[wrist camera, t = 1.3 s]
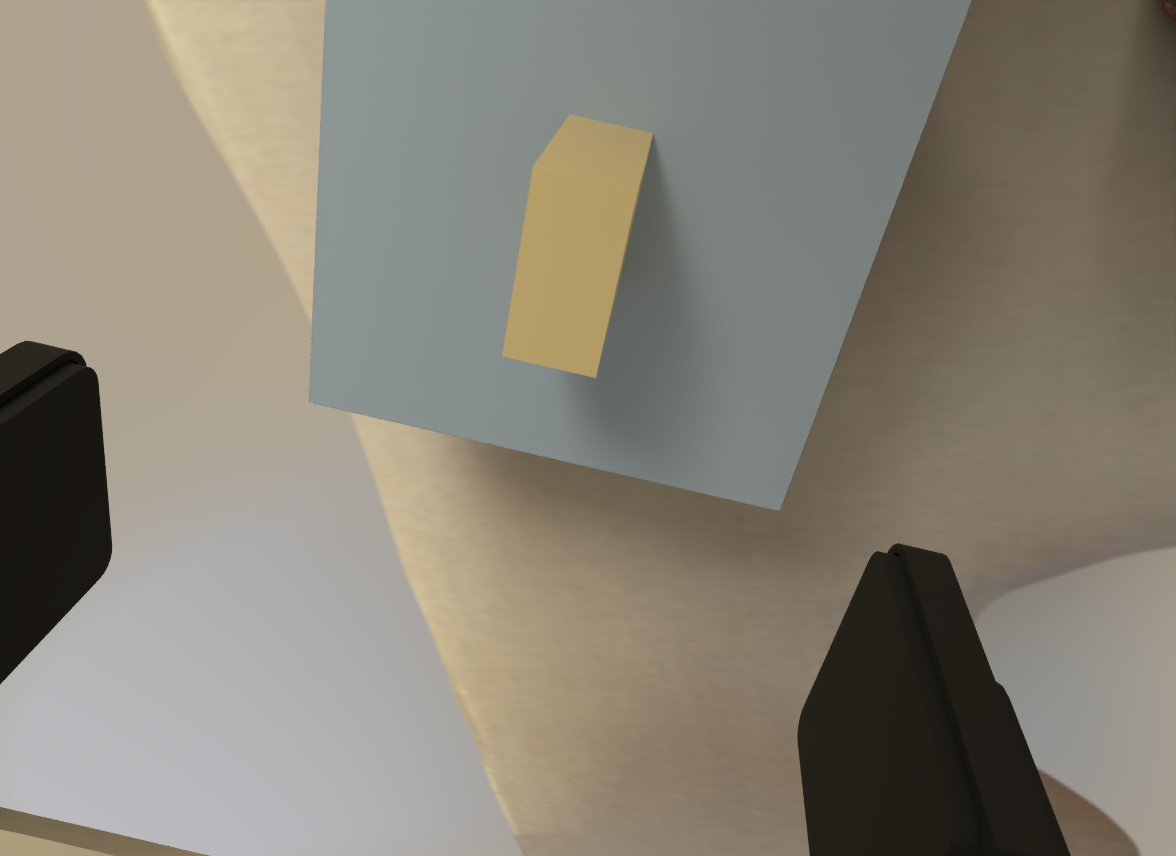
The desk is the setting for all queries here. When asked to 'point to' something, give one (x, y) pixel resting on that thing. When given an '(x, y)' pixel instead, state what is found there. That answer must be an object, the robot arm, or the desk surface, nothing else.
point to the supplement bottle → (1170, 8)
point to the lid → (611, 219)
